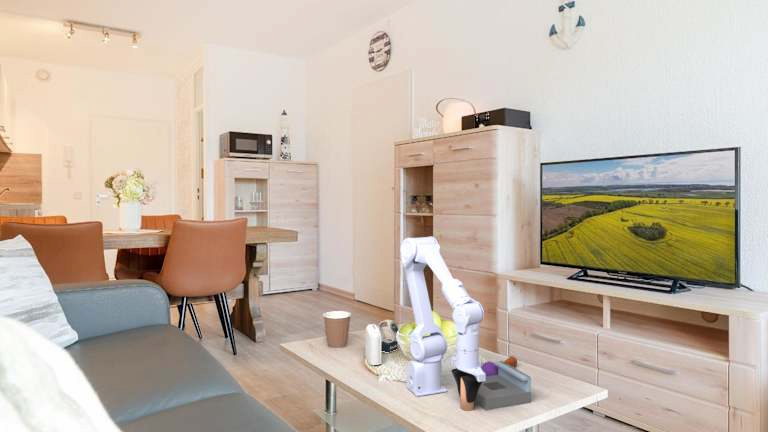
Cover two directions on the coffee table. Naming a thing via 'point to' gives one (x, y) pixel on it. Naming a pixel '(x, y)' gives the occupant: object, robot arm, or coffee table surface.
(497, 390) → the socket
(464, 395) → the peg
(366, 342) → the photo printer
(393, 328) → the watch
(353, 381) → the coffee table surface
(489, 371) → the kendama
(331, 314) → the coffee cup
